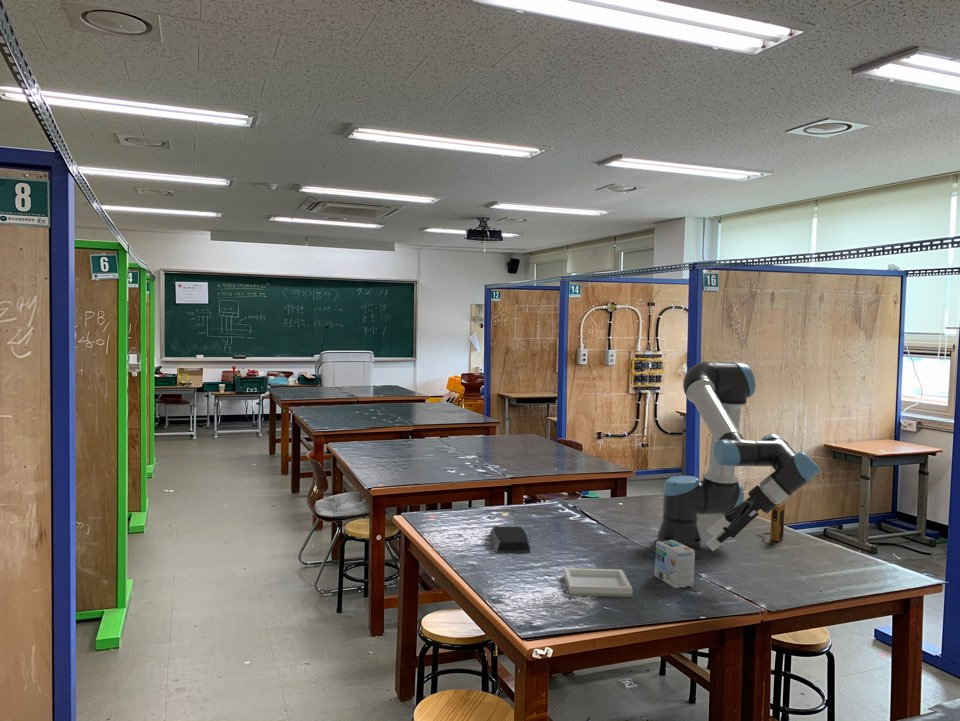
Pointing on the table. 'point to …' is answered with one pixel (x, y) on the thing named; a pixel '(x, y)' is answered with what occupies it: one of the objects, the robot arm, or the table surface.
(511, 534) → the external hard drive
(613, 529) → the table surface
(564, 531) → the table surface
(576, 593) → the housing tray
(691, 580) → the light bulb box
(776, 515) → the multimeter
